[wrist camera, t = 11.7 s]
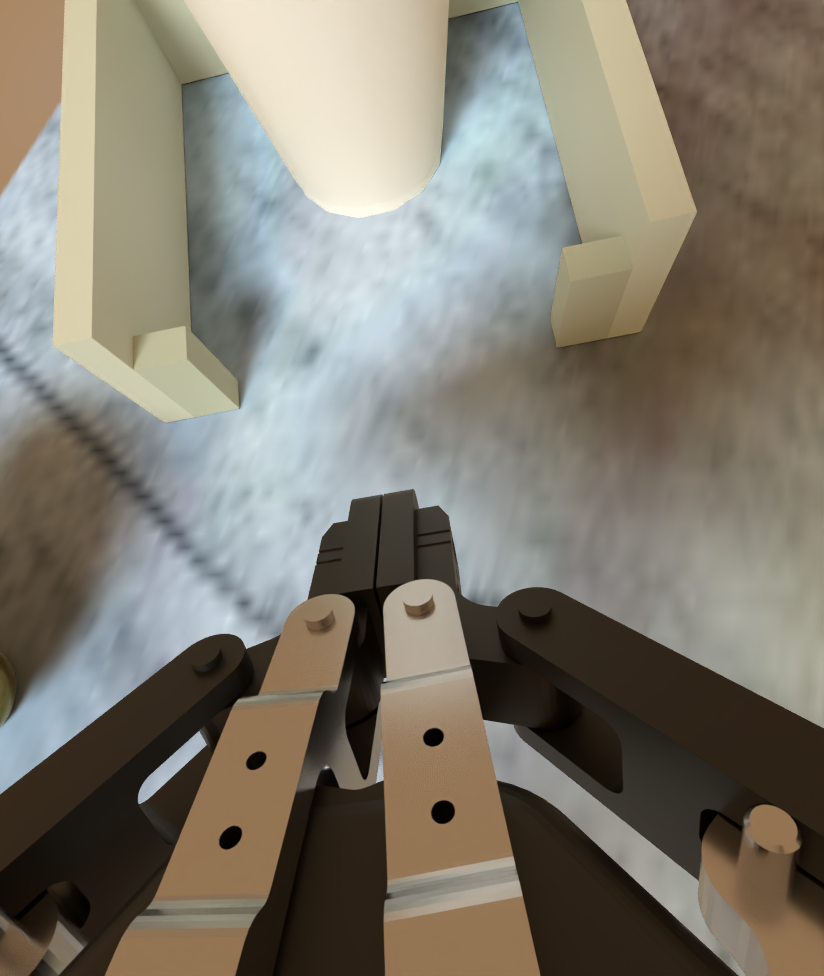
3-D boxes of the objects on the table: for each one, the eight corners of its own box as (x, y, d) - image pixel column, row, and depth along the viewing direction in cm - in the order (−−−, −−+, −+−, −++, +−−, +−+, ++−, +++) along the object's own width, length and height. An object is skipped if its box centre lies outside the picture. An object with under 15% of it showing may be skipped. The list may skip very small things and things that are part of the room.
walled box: (641, 331, 21) (697, 211, 15) (164, 423, 23) (52, 345, 17) (540, -25, 26) (553, -216, 20) (156, 70, 28) (67, -81, 22)
